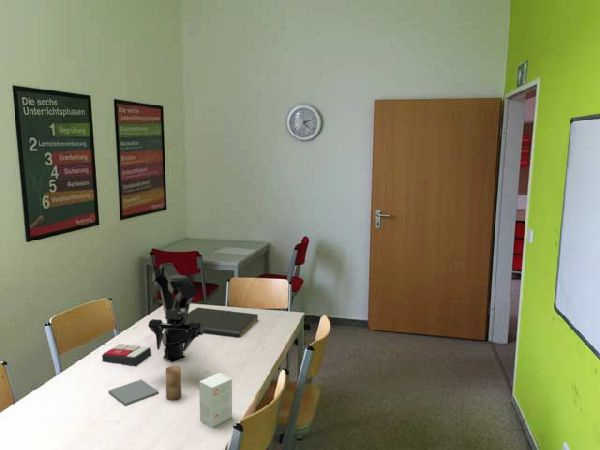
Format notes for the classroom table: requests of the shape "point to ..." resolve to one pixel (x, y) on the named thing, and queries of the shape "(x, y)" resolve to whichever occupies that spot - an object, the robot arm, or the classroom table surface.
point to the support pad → (133, 392)
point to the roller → (173, 383)
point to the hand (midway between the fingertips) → (170, 350)
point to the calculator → (127, 354)
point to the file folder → (222, 321)
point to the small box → (215, 399)
